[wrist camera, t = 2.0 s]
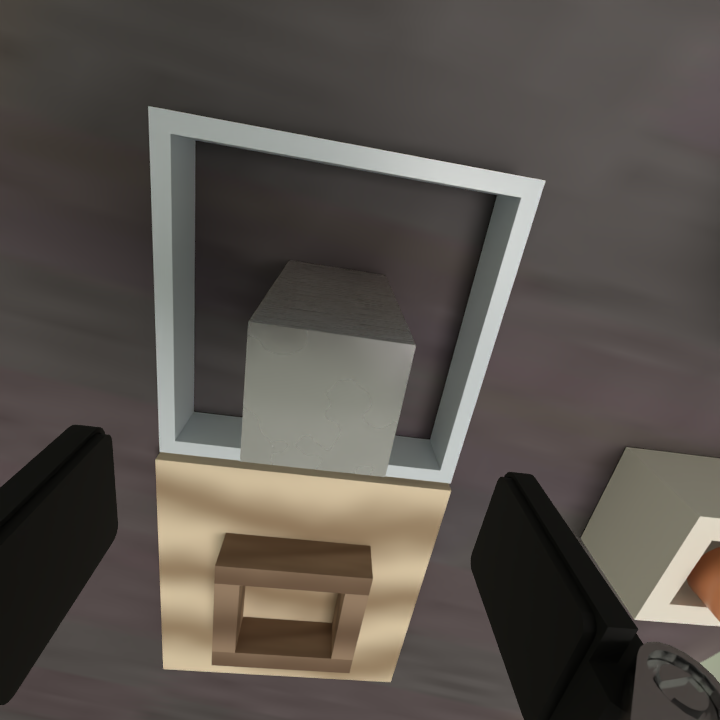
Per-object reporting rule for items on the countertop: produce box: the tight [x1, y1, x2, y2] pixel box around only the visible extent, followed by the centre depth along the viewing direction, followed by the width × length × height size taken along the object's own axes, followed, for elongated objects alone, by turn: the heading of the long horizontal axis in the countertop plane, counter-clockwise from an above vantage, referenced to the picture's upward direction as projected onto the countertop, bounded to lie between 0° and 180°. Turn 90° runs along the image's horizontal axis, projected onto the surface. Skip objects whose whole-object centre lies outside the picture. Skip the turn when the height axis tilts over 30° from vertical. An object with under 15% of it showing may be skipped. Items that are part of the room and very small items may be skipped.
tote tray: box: [148, 106, 545, 483], centre depth 21 cm, size 16×16×3 cm
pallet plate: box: [155, 452, 451, 682], centre depth 28 cm, size 20×18×4 cm
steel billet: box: [240, 260, 416, 477], centre depth 18 cm, size 5×5×10 cm
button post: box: [581, 447, 720, 626], centre depth 26 cm, size 8×8×6 cm
